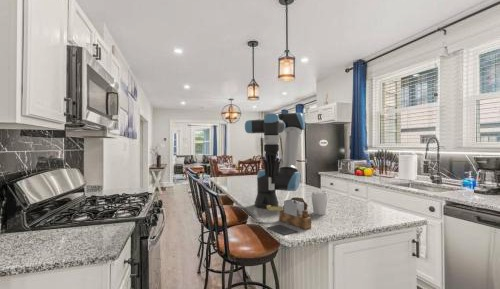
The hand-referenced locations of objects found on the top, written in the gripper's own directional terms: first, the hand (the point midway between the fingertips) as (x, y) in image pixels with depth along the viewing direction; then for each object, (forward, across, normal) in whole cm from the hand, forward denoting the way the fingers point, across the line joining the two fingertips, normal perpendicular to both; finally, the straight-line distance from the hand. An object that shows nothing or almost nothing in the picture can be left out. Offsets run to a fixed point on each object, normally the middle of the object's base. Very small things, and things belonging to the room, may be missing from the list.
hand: (271, 189), depth 135 cm
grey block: (+11, +10, +6) cm, 16 cm away
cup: (+17, +5, +32) cm, 36 cm away
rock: (+16, +1, +18) cm, 24 cm away
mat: (+16, +14, -5) cm, 22 cm away
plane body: (+16, +11, +6) cm, 20 cm away
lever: (+11, 0, +2) cm, 11 cm away
